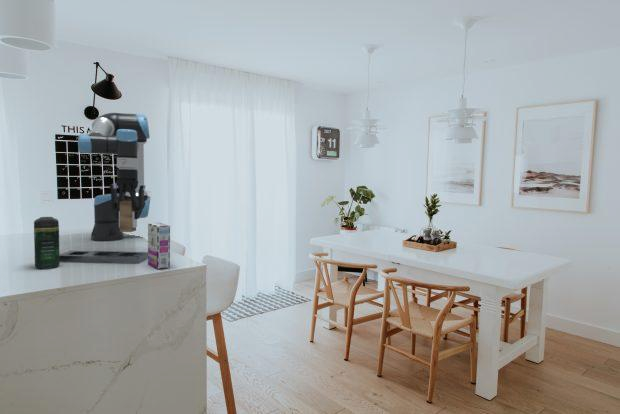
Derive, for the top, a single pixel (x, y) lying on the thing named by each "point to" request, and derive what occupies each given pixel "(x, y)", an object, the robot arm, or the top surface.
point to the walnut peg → (126, 216)
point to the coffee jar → (46, 242)
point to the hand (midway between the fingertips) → (128, 226)
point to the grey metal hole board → (103, 257)
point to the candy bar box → (159, 245)
